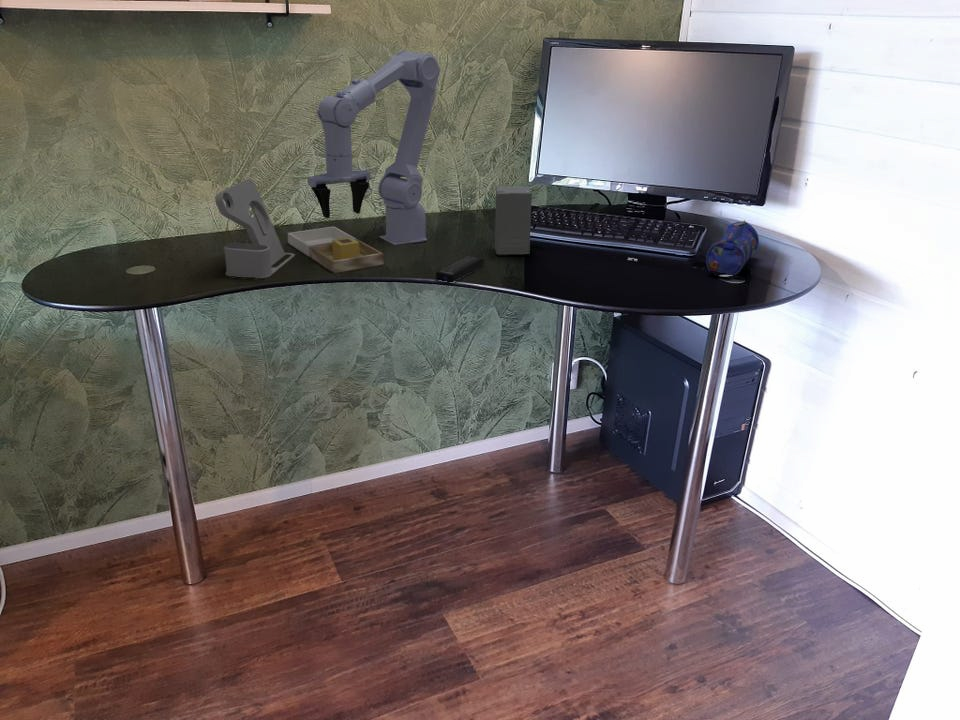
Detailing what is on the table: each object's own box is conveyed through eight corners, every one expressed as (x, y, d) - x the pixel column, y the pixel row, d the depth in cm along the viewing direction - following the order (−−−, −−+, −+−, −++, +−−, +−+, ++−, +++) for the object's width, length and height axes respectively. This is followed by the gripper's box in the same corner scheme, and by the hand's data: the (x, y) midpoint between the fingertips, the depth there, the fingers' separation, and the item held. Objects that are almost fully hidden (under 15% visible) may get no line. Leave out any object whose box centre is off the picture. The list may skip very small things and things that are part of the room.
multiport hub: (484, 267, 177) (484, 258, 176) (452, 285, 166) (452, 275, 165) (467, 264, 179) (468, 254, 178) (434, 281, 168) (434, 271, 167)
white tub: (334, 238, 193) (334, 226, 192) (357, 251, 184) (356, 238, 183) (288, 245, 186) (287, 233, 185) (309, 258, 177) (308, 246, 176)
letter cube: (350, 256, 179) (350, 237, 177) (359, 261, 175) (359, 242, 173) (333, 259, 176) (332, 239, 174) (341, 264, 173) (340, 245, 171)
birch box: (358, 251, 183) (358, 239, 182) (383, 266, 174) (383, 253, 173) (310, 259, 177) (310, 247, 176) (334, 275, 168) (333, 261, 167)
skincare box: (527, 249, 190) (531, 184, 183) (529, 258, 183) (534, 191, 177) (493, 248, 190) (495, 183, 183) (494, 257, 183) (497, 190, 176)
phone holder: (267, 281, 163) (259, 196, 156) (221, 277, 165) (212, 193, 157) (296, 256, 179) (291, 178, 171) (255, 253, 180) (248, 175, 172)
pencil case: (721, 252, 194) (727, 214, 189) (756, 258, 190) (764, 220, 186) (701, 276, 176) (708, 236, 172) (740, 283, 172) (748, 242, 168)
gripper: (316, 160, 163) (320, 223, 169) (376, 154, 171) (378, 214, 177) (302, 154, 168) (306, 215, 174) (361, 149, 176) (363, 207, 182)
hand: (341, 214), depth 176 cm, fingers open, 7 cm apart
